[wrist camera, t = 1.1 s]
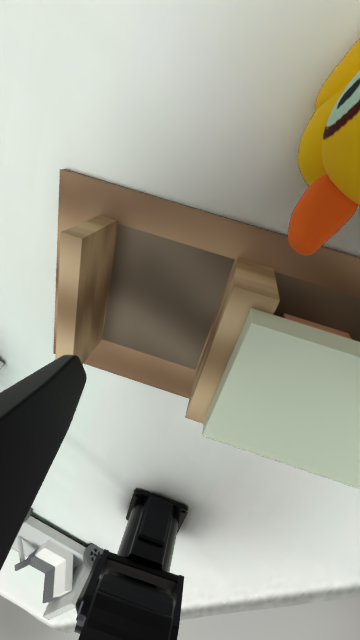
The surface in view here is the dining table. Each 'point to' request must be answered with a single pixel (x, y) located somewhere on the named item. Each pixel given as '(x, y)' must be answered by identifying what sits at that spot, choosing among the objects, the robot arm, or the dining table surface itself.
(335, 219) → the duckling
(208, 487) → the dining table surface
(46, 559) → the toy car
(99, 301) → the wooden slotted rack
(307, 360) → the cover
